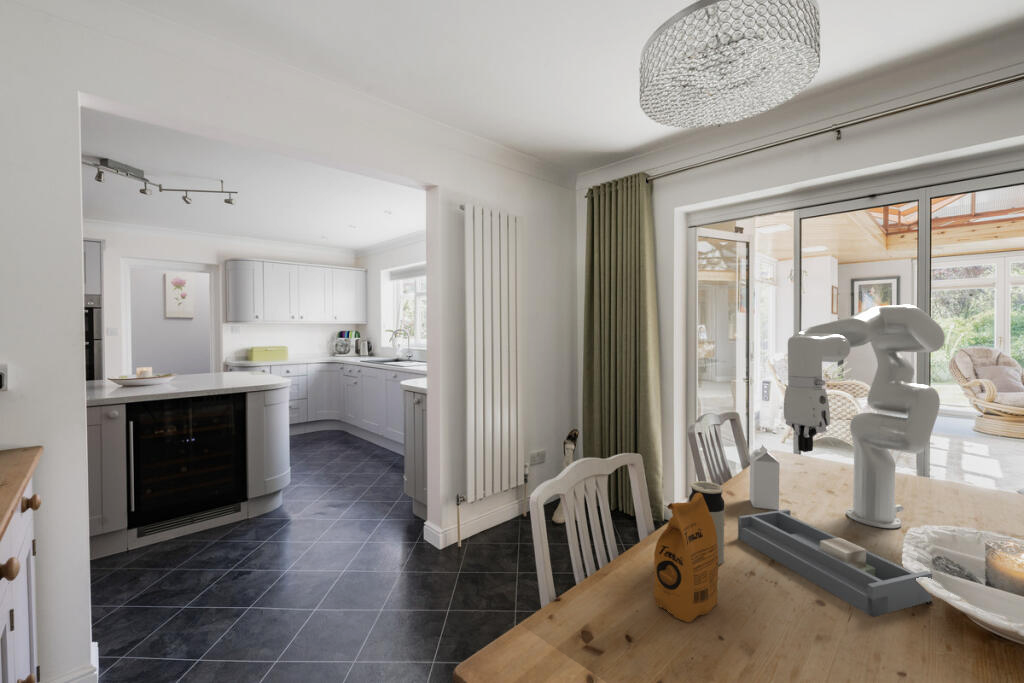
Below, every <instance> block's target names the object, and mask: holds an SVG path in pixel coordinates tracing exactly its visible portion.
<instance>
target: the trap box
mask: <svg viewBox="0 0 1024 683" xmlns="http://www.w3.org/2000/svg"><path fill="white" fill-rule="evenodd" d="M737 517H738V518H737V519H738V520H737V539H738V540H740V541H742V543H745V544H747V545H748V546H750V547H752V548H753V549H754V550H755V549H756V550H757V551H758V552H760V553H762V554H763V555H765V556H767V557H769V558H771V560H772V559H773V560H774V561H776V562H777V563H779V564H781V565H783V566H784V567H786V568H788V569H789V570H791V571H793V572H794V573H796V574H798V575H799V576H801V577H803V578H805V579H807V580H808V581H810V582H811V583H813V584H815V585H817V586H819V587H820V588H822V589H824V590H825V591H827V592H828V593H830V594H832V595H834V596H835V597H838V598H839V599H840V600H842V601H844V602H846V603H848V604H849V605H851V606H853V607H854V608H856V609H857V610H860V611H861V612H863V613H864V614H866V615H868V616H870V617H871V618H874V617H877V616H880V615H882V616H883V615H886V614H890V613H892V612H893V613H894V612H897V611H900V609H901V610H904V608H905V609H909V608H912V606H913V607H916V606H915V605H917V606H919V604H921V603H924V604H926V603H925V602H928V603H930V602H929V601H932V600H933V599H932V596H933V594H932V595H931V594H930V593H928V592H927V591H926V590H925V589H924V588H923V587H922V586H921V585H920V584H919V583H918V582H917V581H916V578H919V577H928V578H931V579H932V580H933V573H932V572H930V571H928V570H923V571H919V572H916V571H913V570H910V569H909V568H907V567H904V566H901V565H899V564H897V563H895V562H892V561H891V560H889V559H886V558H884V557H882V556H879V555H877V554H875V553H873V552H870V551H869V550H867V549H866V567H865V568H860V569H859V568H857V567H855V566H853V565H851V564H849V563H847V562H845V561H843V560H841V559H839V558H837V557H835V556H833V555H831V554H829V553H827V552H825V551H823V550H821V549H820V541H822V540H827V539H833V538H839V537H838V536H836V535H834V534H831V533H829V532H827V531H825V530H823V529H820V528H818V527H816V526H813V525H812V524H809V523H807V522H805V521H803V520H800V519H798V518H796V517H794V516H792V515H791V510H790V509H788V508H785V509H779V510H773V511H766V512H759V513H753V514H745V515H740V516H737ZM921 605H922V604H921ZM908 607H909V608H908ZM896 610H897V611H896Z"/></svg>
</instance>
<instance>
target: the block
mask: <svg viewBox="0 0 1024 683" xmlns="http://www.w3.org/2000/svg"><path fill="white" fill-rule="evenodd" d="M820 549H821V550H823V551H825V552H827V553H829V554H831V555H833V556H835V557H837V558H839V559H841V560H843V561H845V562H847V563H849V564H851V565H853V566H855V567H857V568H859V569H860V568H865V567H866V550H867V549H866V548H864V547H861V546H859V545H858V544H855V543H853V542H851V541H849V540H846V539H844V538H841V536H840V537H838V538H833V539H827V540H822V541H820Z"/></svg>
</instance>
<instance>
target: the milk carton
mask: <svg viewBox="0 0 1024 683" xmlns="http://www.w3.org/2000/svg"><path fill="white" fill-rule="evenodd" d="M749 455H750V456H749V502H750V503H751V505H752V508H757V509H763V510H773V511H779V510H780V465H781V464H780V462H779V460H777V459H776V457H775V456H774V455H772V454H771V452H769V451H768V448H767V447H766V446H765V445H764V444H763V443H761V447H760V448H757V449H755V450H753V452H752V453H751V454H749Z"/></svg>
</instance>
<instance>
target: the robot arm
mask: <svg viewBox="0 0 1024 683" xmlns="http://www.w3.org/2000/svg"><path fill="white" fill-rule="evenodd" d="M945 336H946V335H945V333H944V330H943V328H942V327H941V326H940V325H939V323H937V321H935V320H934V319H933V318H932V317H931V316H929V314H927V313H926V312H925V311H923V310H922V309H921V308H919V307H917V306H915V305H911V304H899V305H877V306H871V307H868V308H866V309H863V310H861V311H859V312H857V313H855V314H852V315H851V316H849V317H847V318H846V317H845V318H844V319H839V320H834V321H831V322H827V323H823V324H817V325H813V326H810V327H807V328H805V329H802V330H801V331H799V332H796V333H795V334H793V335H792V336H791V337H789V338H788V340H787V381H788V382H787V385H786V388H785V392H784V398H783V417H784V420H785V424H786V425H787V426H789V427H791V428H792V429H793V430H794V434H795V435H796V436H797V447H798V451H799V452H803V453H808V452H812V451H813V450H814V437H815V436H816V435H817V434H823V433H824V434H825V433H827V431H828V430H827V426H830V425H831V412H830V411H831V410H830V403H829V398H828V393H827V391H826V390H827V389H826V388H823V386H826V384H827V383H826V380H824V379H823V363H824V362H825V363H837V362H841V361H843V360H845V359H846V358H847V357H848V356H849V354H850V353H851V348H856V347H861V346H864V345H867V344H868V343H870V345H871V347H872V349H873V352H874V355H875V358H876V362H877V368H876V371H875V374H874V377H873V380H872V383H871V385H870V389H869V391H868V394H867V398H866V399H867V405H868V406H869V407H870V408H871V409H872V410H873V411H877V412H880V413H875V412H861V413H858V414H856V415H854V416H853V417H852V419H851V421H850V424H849V425H850V426H849V427H850V434H851V439H852V440H851V441H852V446H853V483H852V484H853V487H852V488H853V489H852V490H853V491H852V492H853V493H852V494H853V495H852V507H850V508H847V509H846V515H847V516H848V517H849V518H850V519H851V520H853V521H855V522H858V523H861V524H863V525H867V526H871V527H876V528H882V529H897V528H900V527H902V520H901V518H899V517H897V515H896V514H897V513H900V512H903V511H904V509H905V508H904V507H903V505H901V504H895V501H896V499H895V497H896V461H895V459H894V457H893V455H892V454H891V452H890V451H889V450H892V451H896V452H901V453H907V454H912V455H913V454H921V453H922V452H924V451H925V450H926V449H927V447H928V444H929V441H930V438H931V436H932V433H933V430H934V427H935V423H936V420H937V417H938V415H939V411H940V405H941V402H940V401H941V400H940V395H939V393H938V391H937V390H936V389H935V388H933V386H930V385H927V384H919V383H912V381H913V378H914V375H915V369H914V366H913V365H912V363H911V362H910V361H909V360H908V359H907V358H906V356H905V355H904V354H903V353H902V352H904V353H934V352H937V351H940V349H941V348H943V346H944V344H945V340H946V337H945ZM882 413H883V414H882ZM884 413H886V414H884ZM888 414H891V415H888ZM893 415H894V416H893ZM896 415H899V416H896ZM901 416H903V417H901Z"/></svg>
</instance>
